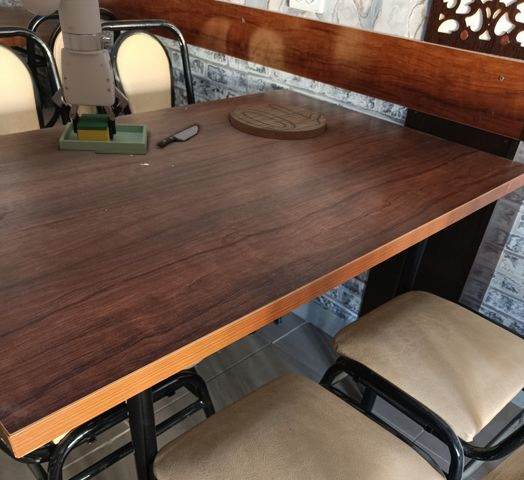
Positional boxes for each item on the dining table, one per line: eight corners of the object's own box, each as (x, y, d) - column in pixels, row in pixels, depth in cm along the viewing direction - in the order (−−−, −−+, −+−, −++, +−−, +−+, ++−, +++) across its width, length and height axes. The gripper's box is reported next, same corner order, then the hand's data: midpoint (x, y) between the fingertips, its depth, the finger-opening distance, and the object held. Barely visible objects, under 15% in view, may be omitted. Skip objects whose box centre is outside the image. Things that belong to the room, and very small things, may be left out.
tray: (60, 152, 106) (58, 140, 104) (69, 132, 115) (67, 122, 114) (145, 154, 108) (144, 143, 107) (147, 135, 118) (146, 124, 117)
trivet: (275, 106, 146) (276, 98, 145) (344, 129, 134) (345, 121, 133) (210, 118, 132) (210, 111, 131) (280, 146, 119) (281, 137, 118)
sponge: (79, 145, 107) (76, 125, 105) (84, 132, 114) (82, 113, 111) (108, 146, 108) (106, 126, 106) (112, 133, 115) (110, 114, 112)
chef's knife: (207, 129, 125) (196, 126, 126) (207, 124, 124) (196, 121, 125) (168, 150, 111) (156, 147, 112) (168, 145, 110) (156, 141, 111)
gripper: (129, 41, 103) (137, 132, 115) (40, 36, 101) (57, 130, 112) (127, 48, 98) (135, 143, 109) (33, 43, 95) (51, 141, 107)
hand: (96, 136), depth 111 cm, fingers closed on sponge, 6 cm apart
